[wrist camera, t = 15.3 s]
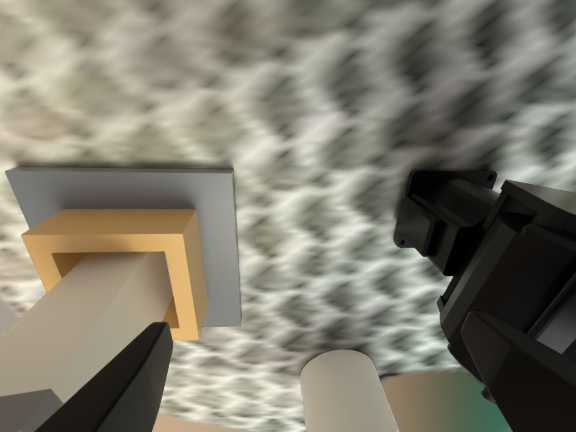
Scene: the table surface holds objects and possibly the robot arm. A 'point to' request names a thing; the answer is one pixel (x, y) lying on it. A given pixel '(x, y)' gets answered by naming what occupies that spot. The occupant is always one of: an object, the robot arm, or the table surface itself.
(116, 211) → the socket plate
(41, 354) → the plug
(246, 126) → the table surface
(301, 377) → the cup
